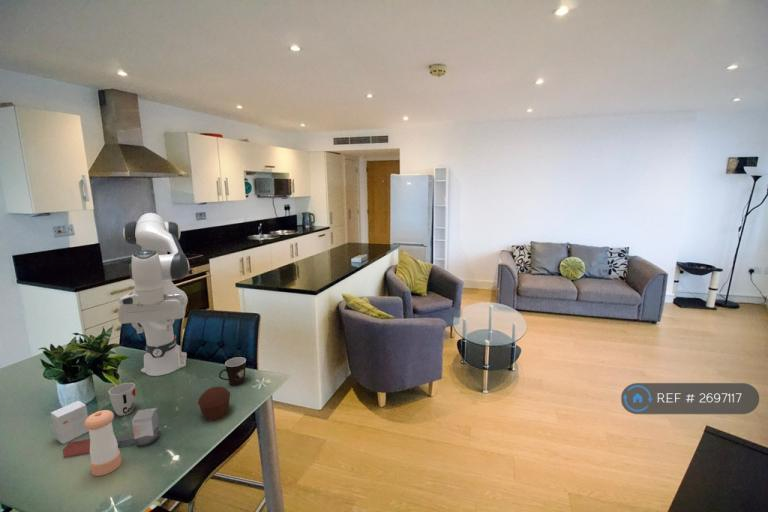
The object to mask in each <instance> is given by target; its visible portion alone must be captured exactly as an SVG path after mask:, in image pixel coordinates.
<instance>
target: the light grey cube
mask: <svg viewBox="0 0 768 512" xmlns="http://www.w3.org/2000/svg"><path fill="white" fill-rule="evenodd" d="M131 424H132V430H133V431H132V433H134V439H138V438H144V437H150V436H154V434H155V432H156V430H157V428H158V427H159V426H160V423H159V414H158V407H152V408H151V407H150V408H146V409H139V410H137V412H136V413H135V415H134V416H133V418H132V420H131Z"/></svg>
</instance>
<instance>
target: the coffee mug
mask: <svg viewBox="0 0 768 512" xmlns="http://www.w3.org/2000/svg"><path fill="white" fill-rule="evenodd" d="M224 365H225V369H222V370H221V371H219V374H218V377H219V379H221V380H224V381H228V384H229V386H231V387H236V386H237V387H238V386H240V385H243V384H244V383H245V381H246V370H247V369H246V366H247V359H246V358H245V357H240V356H239V357H237V356H236V357H232V358H229V359H227V360H226V361H225V363H224ZM223 372H226V373H227V374H226V375H227V378H223V377H222V376H221V375H222V373H223Z"/></svg>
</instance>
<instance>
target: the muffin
mask: <svg viewBox="0 0 768 512" xmlns="http://www.w3.org/2000/svg"><path fill="white" fill-rule="evenodd" d="M230 398H231V392H230V391H229V390H228V389H227V388H226V387H223V386H221V385H220V386H218V385H217V386H212V387H210V388H208V389H207V390H205V391H204V392H203V393H202V394H201V396H200V397H199V399H198V400H197V405H198V406H199V409H200V412H201V415H202V418H203V419H205V421H216V420H219V419H222V418H224V416H225V415H227V414H228V410H229V406H230Z"/></svg>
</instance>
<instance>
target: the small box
mask: <svg viewBox="0 0 768 512" xmlns="http://www.w3.org/2000/svg"><path fill="white" fill-rule="evenodd" d="M87 409H88V408H87V405H86V404H85V403H83V402H82V401H80V400H76V401H74V402H72V403H70V404H67V405H65V406H63V407H60V408H58V409H56V410H54V411H51V412H50V416H51V422H52V426H53V427H52V428H53V432H54V436H55V437H54V438H55V440H56V441H58V442H59V443H61V444H62V445H64V444H66V443H67V444H68V443H69V442H70V441H71V442H72V440H74V439H77V438H78V437H80V436H82V435H85V434H86V433H89V430H88V429H86V428H85V427H84V422H85V420H86V419H87V417H89V414H88V410H87Z"/></svg>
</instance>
